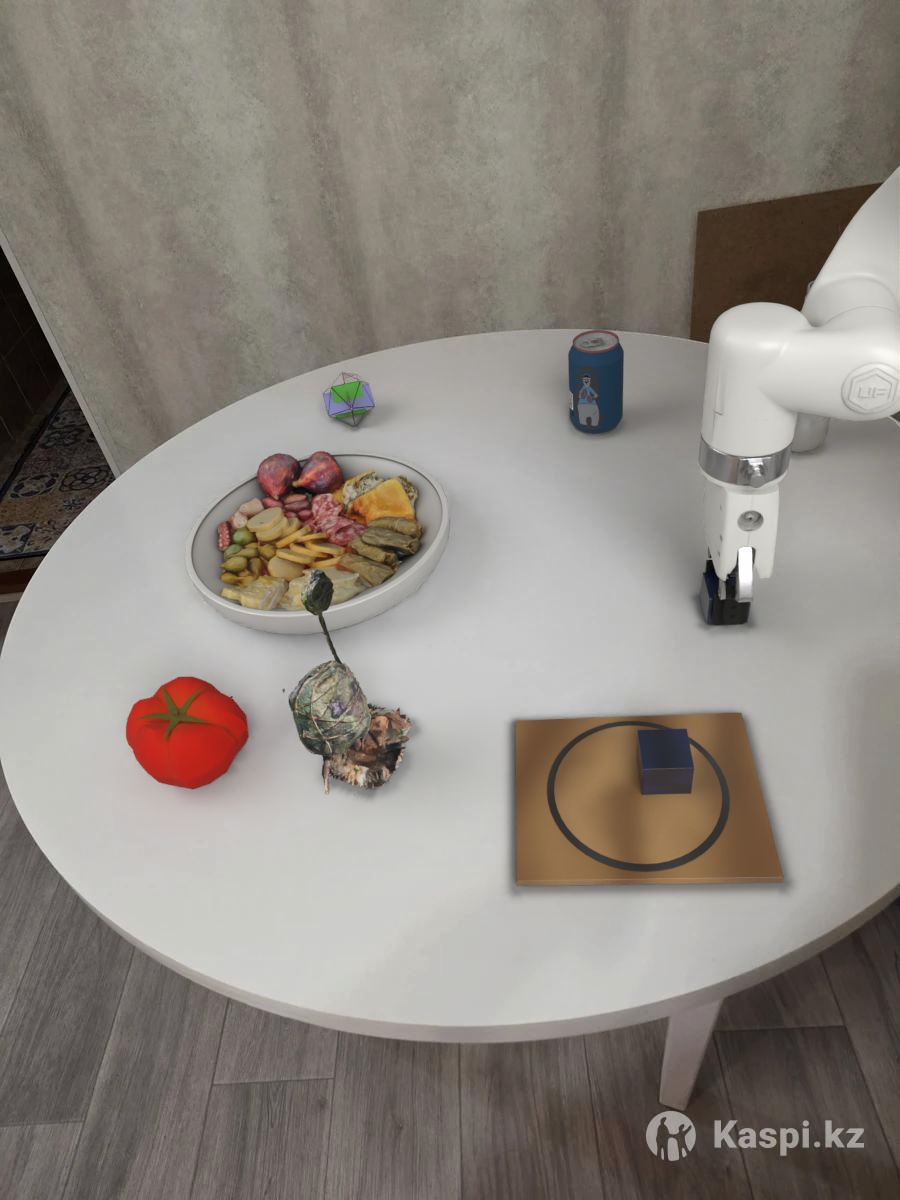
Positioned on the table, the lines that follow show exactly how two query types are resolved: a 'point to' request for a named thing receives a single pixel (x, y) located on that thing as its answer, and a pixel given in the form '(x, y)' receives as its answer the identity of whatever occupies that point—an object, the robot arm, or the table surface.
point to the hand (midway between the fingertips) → (724, 604)
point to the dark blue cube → (664, 761)
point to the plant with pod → (344, 712)
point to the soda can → (596, 382)
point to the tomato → (186, 733)
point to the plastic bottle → (809, 425)
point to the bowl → (318, 539)
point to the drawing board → (638, 806)
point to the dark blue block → (712, 593)
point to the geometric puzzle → (349, 397)
